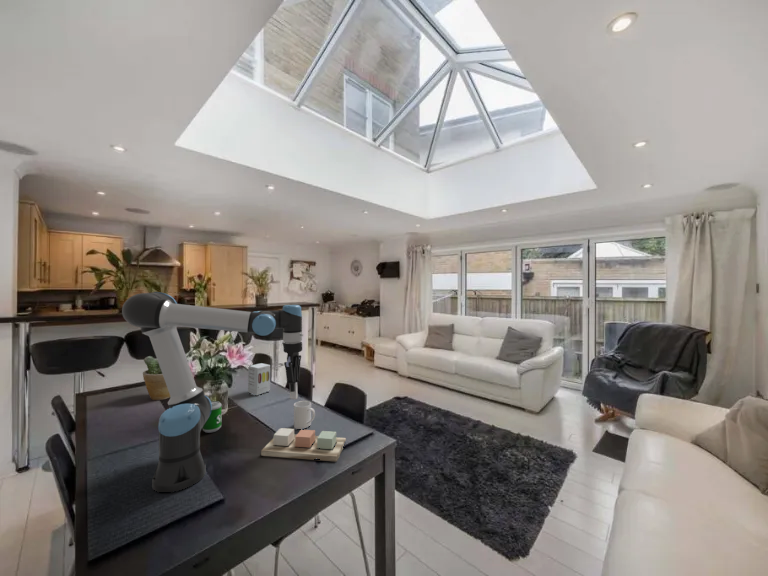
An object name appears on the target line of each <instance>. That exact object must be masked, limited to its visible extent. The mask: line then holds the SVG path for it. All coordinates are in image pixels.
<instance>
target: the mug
mask: <svg viewBox="0 0 768 576" xmlns="http://www.w3.org/2000/svg"><path fill="white" fill-rule="evenodd" d="M315 417H316V411H315V408H312V402H311V401H309V400H299V401H296V402H294V403H293V429H295V428H296V429H295V430H297V429H302V428H306V427H308V426H310V425H311V426H312V422H313V421H314V419H315ZM311 426H310V427H311Z"/></svg>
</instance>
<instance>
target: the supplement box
mask: <svg viewBox="0 0 768 576" xmlns="http://www.w3.org/2000/svg"><path fill="white" fill-rule="evenodd" d="M249 366H250V367H247V368H248V370H247V374H248V375H247V393H248V392H250V393H253V394H256V395H258V394H261V393H263V392H266V391H269V390H270V391H271V364H267V363H262V362H261V363H256V364H251V365H249Z"/></svg>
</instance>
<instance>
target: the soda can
mask: <svg viewBox="0 0 768 576" xmlns="http://www.w3.org/2000/svg"><path fill="white" fill-rule="evenodd" d="M210 401H211V400H210ZM211 404H212V410H211V414H210V416H209V418H208V420H207V421H206V423H205V424H204V426H203V427H202V431H203V432H205V433H206V434H207V433H209V434H210V433H215V432H218V431H219V430H220V429H221V428H222V410H223V408H222V406H223V405H222V403H221V402H220V401H217V400H213V401H211Z"/></svg>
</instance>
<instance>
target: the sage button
mask: <svg viewBox="0 0 768 576" xmlns="http://www.w3.org/2000/svg"><path fill="white" fill-rule="evenodd" d="M317 436H318V438H317V448H320V450H333V449H334V445H335V443H336V437H337V431H329V430H327V431H326V430H322V431H321V432H320V433H319V435H317Z"/></svg>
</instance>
